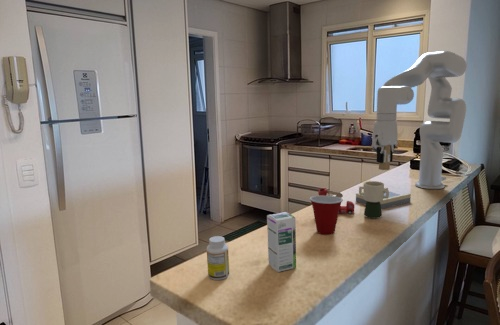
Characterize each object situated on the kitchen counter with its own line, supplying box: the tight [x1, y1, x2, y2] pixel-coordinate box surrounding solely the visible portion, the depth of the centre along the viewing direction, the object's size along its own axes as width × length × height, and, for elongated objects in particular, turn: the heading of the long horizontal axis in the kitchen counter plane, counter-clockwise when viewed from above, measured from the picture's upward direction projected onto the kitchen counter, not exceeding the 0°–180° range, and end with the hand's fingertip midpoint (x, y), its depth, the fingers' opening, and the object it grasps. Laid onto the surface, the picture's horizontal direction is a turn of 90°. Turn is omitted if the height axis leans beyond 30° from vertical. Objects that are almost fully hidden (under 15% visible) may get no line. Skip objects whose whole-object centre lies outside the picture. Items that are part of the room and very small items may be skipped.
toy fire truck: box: [318, 187, 355, 215], centre depth 138 cm, size 3×14×10 cm, turn 84°
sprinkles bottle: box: [378, 141, 391, 171], centre depth 147 cm, size 5×5×14 cm
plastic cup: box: [309, 195, 344, 236], centre depth 119 cm, size 11×11×12 cm
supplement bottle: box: [206, 235, 230, 281], centre depth 92 cm, size 6×6×10 cm
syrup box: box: [266, 211, 297, 273], centre depth 96 cm, size 6×6×14 cm
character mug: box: [358, 180, 390, 219], centre depth 132 cm, size 11×7×13 cm, turn 53°
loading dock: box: [355, 187, 412, 210], centre depth 151 cm, size 18×13×4 cm
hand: (384, 161), depth 148 cm, fingers closed on sprinkles bottle, 4 cm apart
